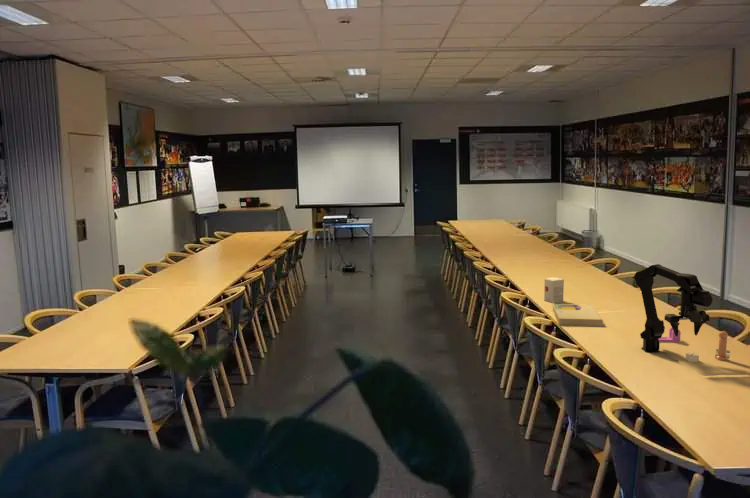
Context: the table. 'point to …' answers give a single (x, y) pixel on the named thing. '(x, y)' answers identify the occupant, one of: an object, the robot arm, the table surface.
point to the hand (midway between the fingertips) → (686, 335)
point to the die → (692, 357)
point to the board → (726, 354)
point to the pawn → (722, 346)
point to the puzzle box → (577, 315)
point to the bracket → (671, 336)
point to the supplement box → (553, 290)
